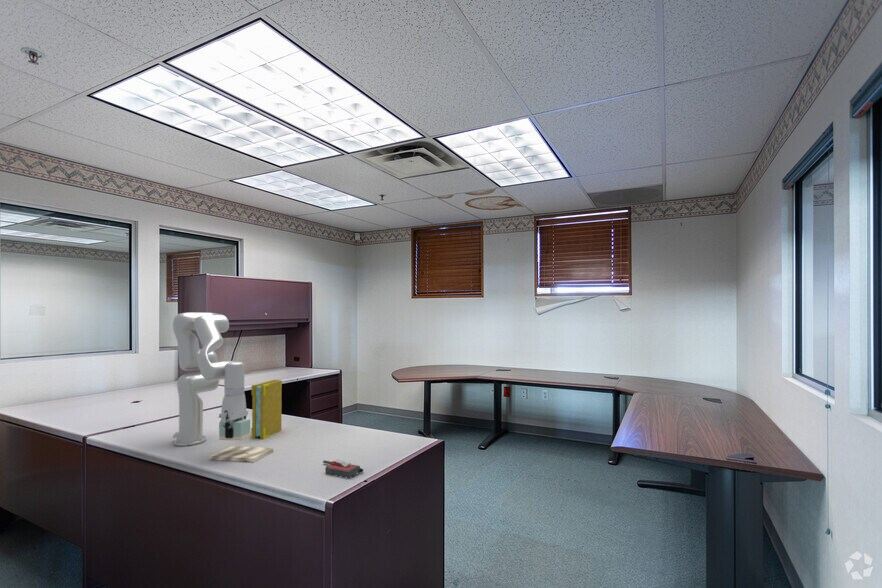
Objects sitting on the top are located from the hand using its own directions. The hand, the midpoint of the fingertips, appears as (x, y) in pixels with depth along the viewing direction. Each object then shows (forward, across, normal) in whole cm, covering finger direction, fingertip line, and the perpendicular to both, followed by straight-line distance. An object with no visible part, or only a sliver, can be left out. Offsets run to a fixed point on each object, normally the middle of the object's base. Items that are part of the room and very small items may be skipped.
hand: (234, 435), depth 173 cm
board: (+8, 0, +3) cm, 9 cm away
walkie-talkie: (+10, +9, +51) cm, 52 cm away
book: (+8, -31, -6) cm, 33 cm away
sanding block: (+1, 0, 0) cm, 1 cm away
